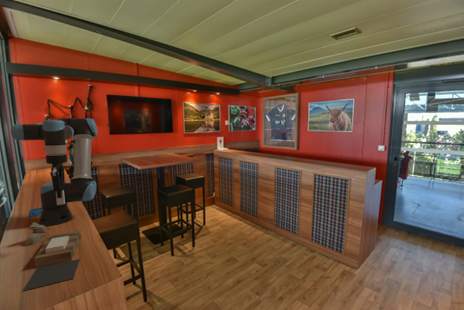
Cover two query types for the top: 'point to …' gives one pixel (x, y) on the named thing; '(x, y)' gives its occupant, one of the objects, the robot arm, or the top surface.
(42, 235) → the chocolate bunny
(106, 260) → the top surface
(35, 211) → the handheld gaming device
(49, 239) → the brown wooden flat slab
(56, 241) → the block
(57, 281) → the mat
